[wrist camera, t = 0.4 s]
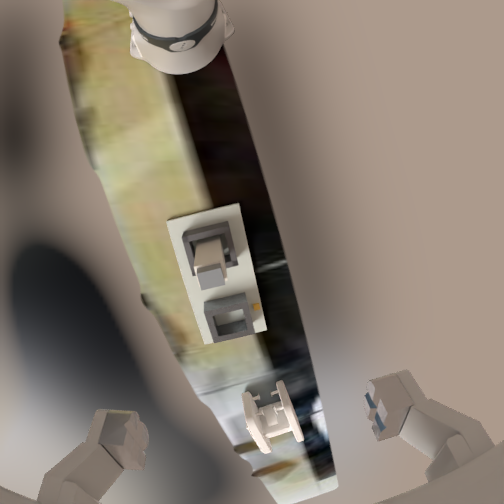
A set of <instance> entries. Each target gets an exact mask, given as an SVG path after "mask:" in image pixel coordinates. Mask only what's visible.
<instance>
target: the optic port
mask: <svg viewBox="0 0 504 504" xmlns="http://www.w3.org/2000/svg"><path fill="white" fill-rule="evenodd" d="M240 309H243V313H244V317H245V319H244V320H240V321H236V322H232V323H228V324H223V325H219V326H218V325H217V322H216V319H215V315H219V314H223V313H227V312H231V311H236V310H240ZM204 314H205V317H206V321H207V324H208V327H209V330H210V333H211V336H212V339H213V342H214V343H217V342H221V341H226V340H230V339H234V338H239V337H243V336H247V335H251V334H255V330H254V326H253V322H252V318H251V314H250V310H249V306H248V302H247V298H246V294H245V292H243V293H239V294H235V295H231V296H227V297H223V298H218V299H214V300H210V301H206V302H204Z"/></svg>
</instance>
